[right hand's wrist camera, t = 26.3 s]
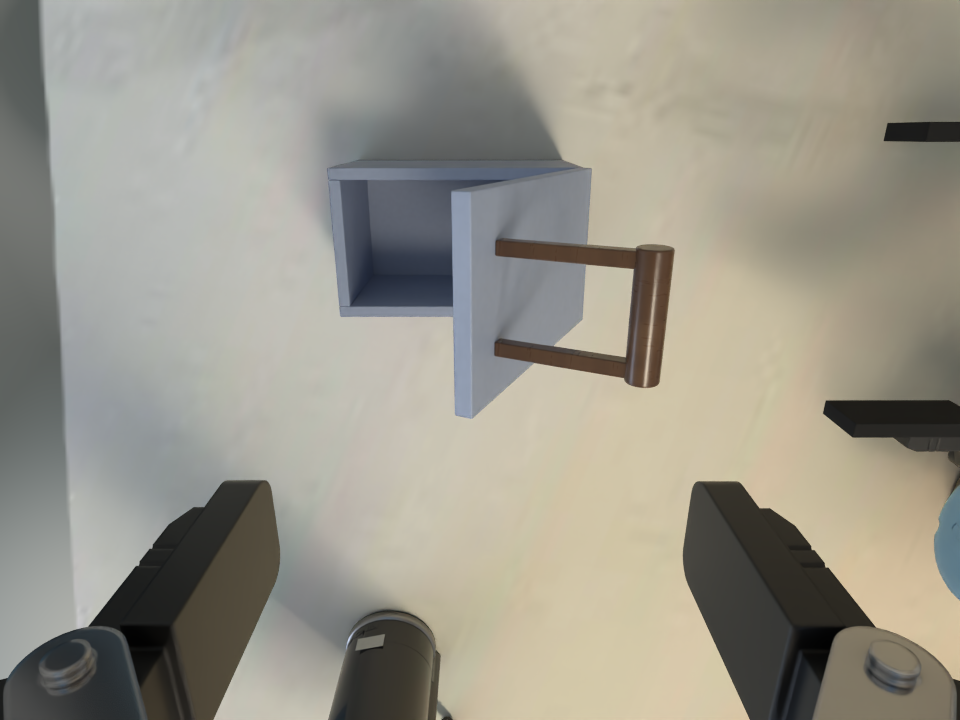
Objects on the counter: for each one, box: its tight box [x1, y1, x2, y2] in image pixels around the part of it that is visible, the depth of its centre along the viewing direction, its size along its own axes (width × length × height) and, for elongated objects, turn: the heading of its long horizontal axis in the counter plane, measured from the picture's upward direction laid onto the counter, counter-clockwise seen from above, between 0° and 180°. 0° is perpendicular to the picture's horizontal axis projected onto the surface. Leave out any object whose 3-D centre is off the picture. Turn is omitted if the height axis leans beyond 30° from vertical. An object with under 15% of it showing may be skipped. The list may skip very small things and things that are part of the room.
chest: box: [327, 160, 583, 317], centre depth 44 cm, size 16×10×10 cm, turn 90°
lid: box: [451, 168, 675, 419], centre depth 30 cm, size 16×10×8 cm
